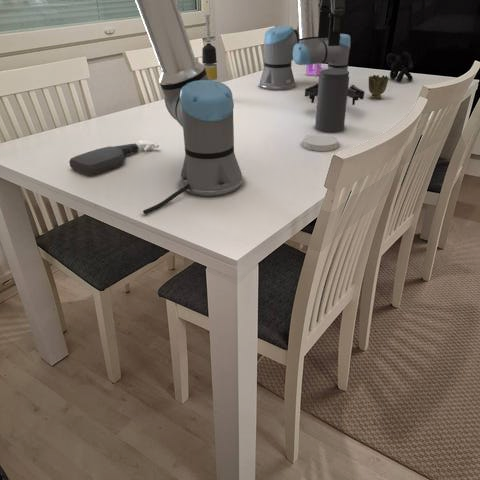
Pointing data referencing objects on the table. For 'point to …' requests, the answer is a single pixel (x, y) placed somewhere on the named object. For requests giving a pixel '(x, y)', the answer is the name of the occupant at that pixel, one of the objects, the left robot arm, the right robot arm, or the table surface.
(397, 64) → the squiggle
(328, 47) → the right robot arm
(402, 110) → the table surface
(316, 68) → the bracket
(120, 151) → the spray bottle
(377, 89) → the cup
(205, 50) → the filter
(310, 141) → the lid
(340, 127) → the jar
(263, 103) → the table surface
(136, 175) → the table surface
